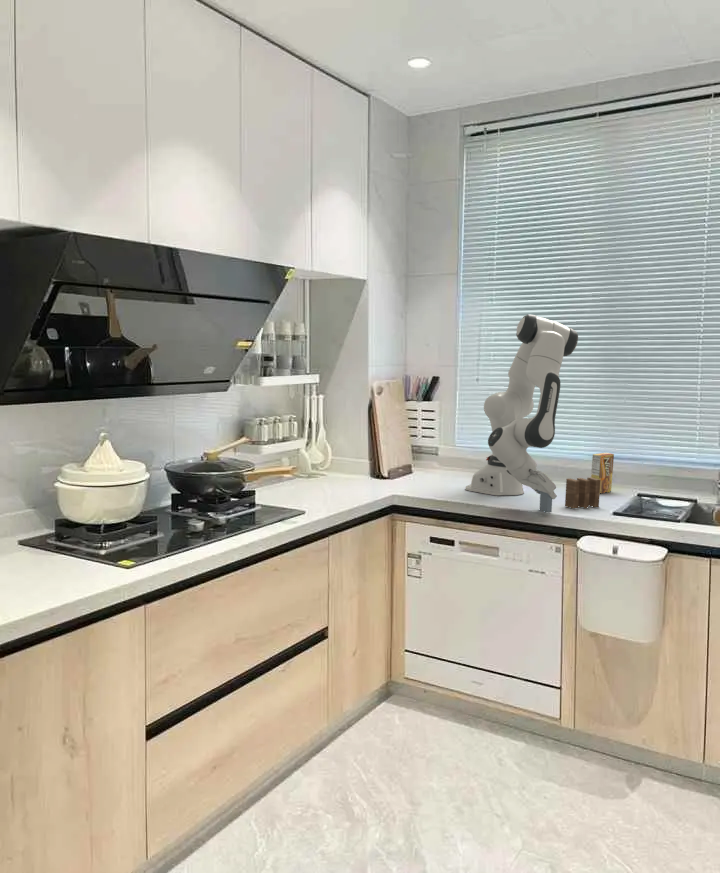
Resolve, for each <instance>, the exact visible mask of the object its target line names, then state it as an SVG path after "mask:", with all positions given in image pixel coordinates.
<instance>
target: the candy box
mask: <svg viewBox="0 0 720 873" xmlns="http://www.w3.org/2000/svg"><path fill="white" fill-rule="evenodd" d="M614 459H615V454H614V453H611V452H601V453H593V454H592V458H591V460H592V461H591V473H590V474H591V476H590V477H592V478H595V479H599V480H600V493H601V494H605V492H607V493H611V492H612V487H613V473H614ZM610 491H611V492H610Z"/></svg>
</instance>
